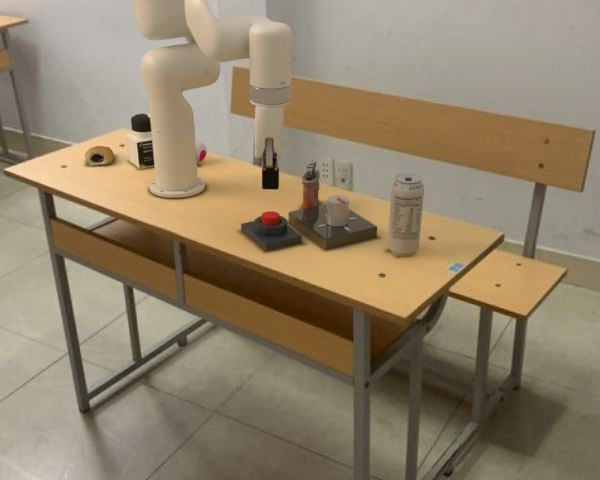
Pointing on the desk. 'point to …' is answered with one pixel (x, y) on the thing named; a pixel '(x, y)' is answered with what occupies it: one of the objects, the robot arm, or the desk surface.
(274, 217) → the power button
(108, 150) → the pastry
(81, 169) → the desk surface
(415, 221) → the energy drink can
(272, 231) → the control block
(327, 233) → the grey dial base plate
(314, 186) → the lighter
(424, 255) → the desk surface
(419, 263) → the desk surface
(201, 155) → the stress ball
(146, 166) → the medicine bottle
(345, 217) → the knob
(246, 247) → the desk surface
